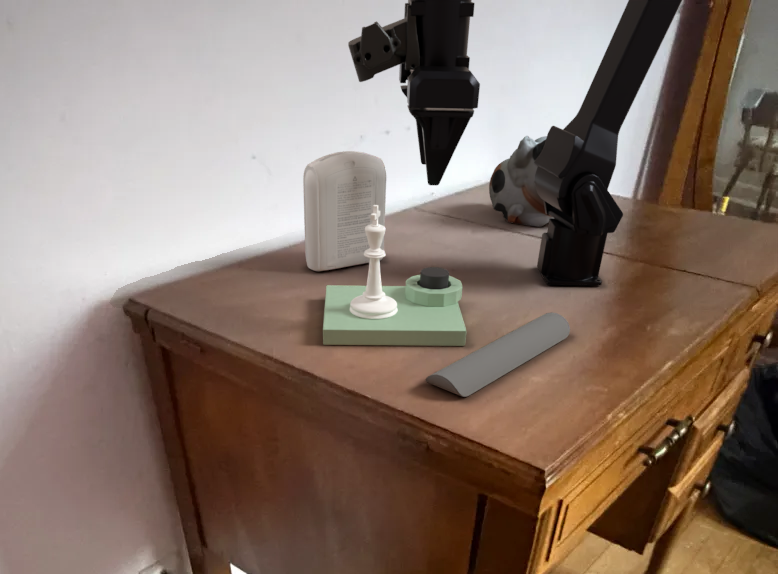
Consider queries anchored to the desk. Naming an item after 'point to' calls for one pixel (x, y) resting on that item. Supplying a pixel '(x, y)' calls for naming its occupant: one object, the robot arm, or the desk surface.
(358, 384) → the desk surface
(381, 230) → the chess piece
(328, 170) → the white rounded block
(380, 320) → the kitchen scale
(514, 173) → the lucky cat figurine
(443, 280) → the button
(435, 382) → the gray half cylinder
